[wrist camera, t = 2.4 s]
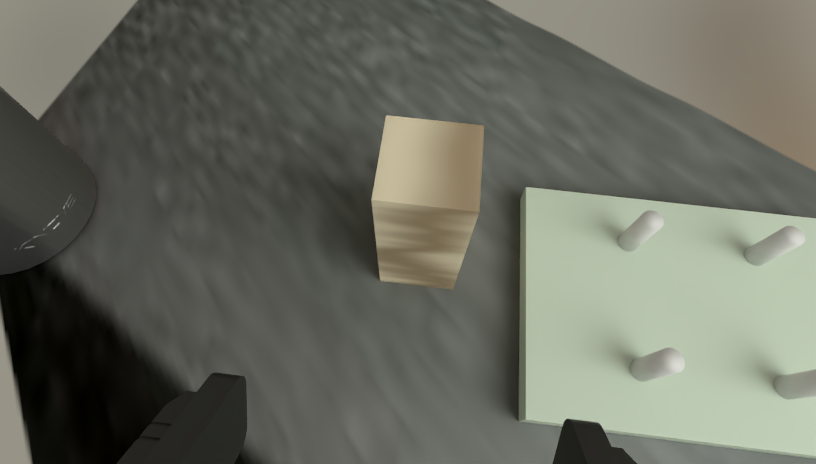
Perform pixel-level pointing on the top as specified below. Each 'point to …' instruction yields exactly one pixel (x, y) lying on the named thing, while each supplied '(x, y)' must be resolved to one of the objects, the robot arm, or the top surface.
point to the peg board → (668, 320)
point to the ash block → (426, 199)
